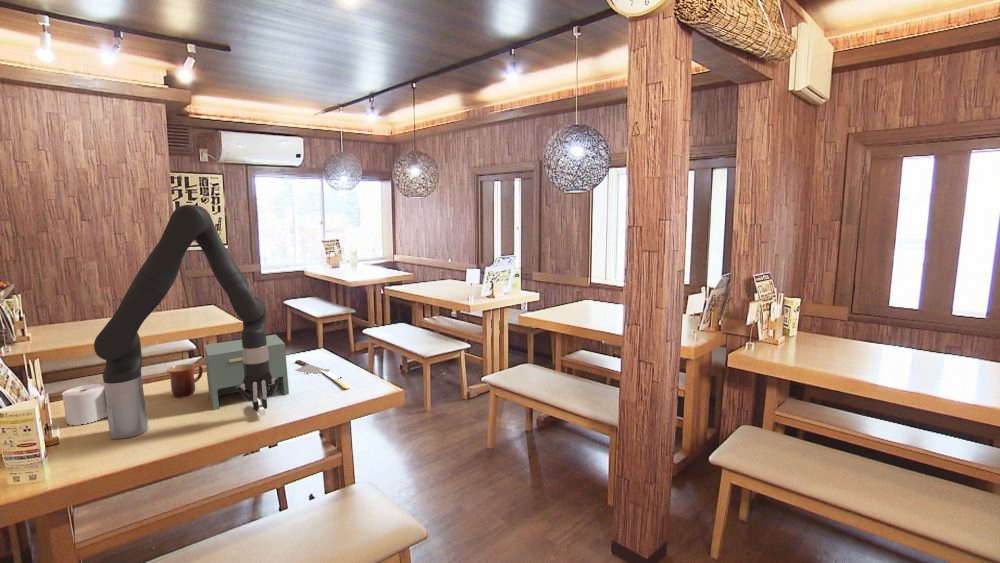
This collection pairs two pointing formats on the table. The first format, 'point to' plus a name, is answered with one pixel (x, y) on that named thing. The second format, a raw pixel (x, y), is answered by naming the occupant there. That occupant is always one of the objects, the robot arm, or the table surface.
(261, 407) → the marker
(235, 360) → the cabinet
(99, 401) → the toilet tissue
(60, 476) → the table surface
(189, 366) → the mug
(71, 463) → the table surface
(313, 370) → the kitchen cleaver
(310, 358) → the table surface
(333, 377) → the knife
